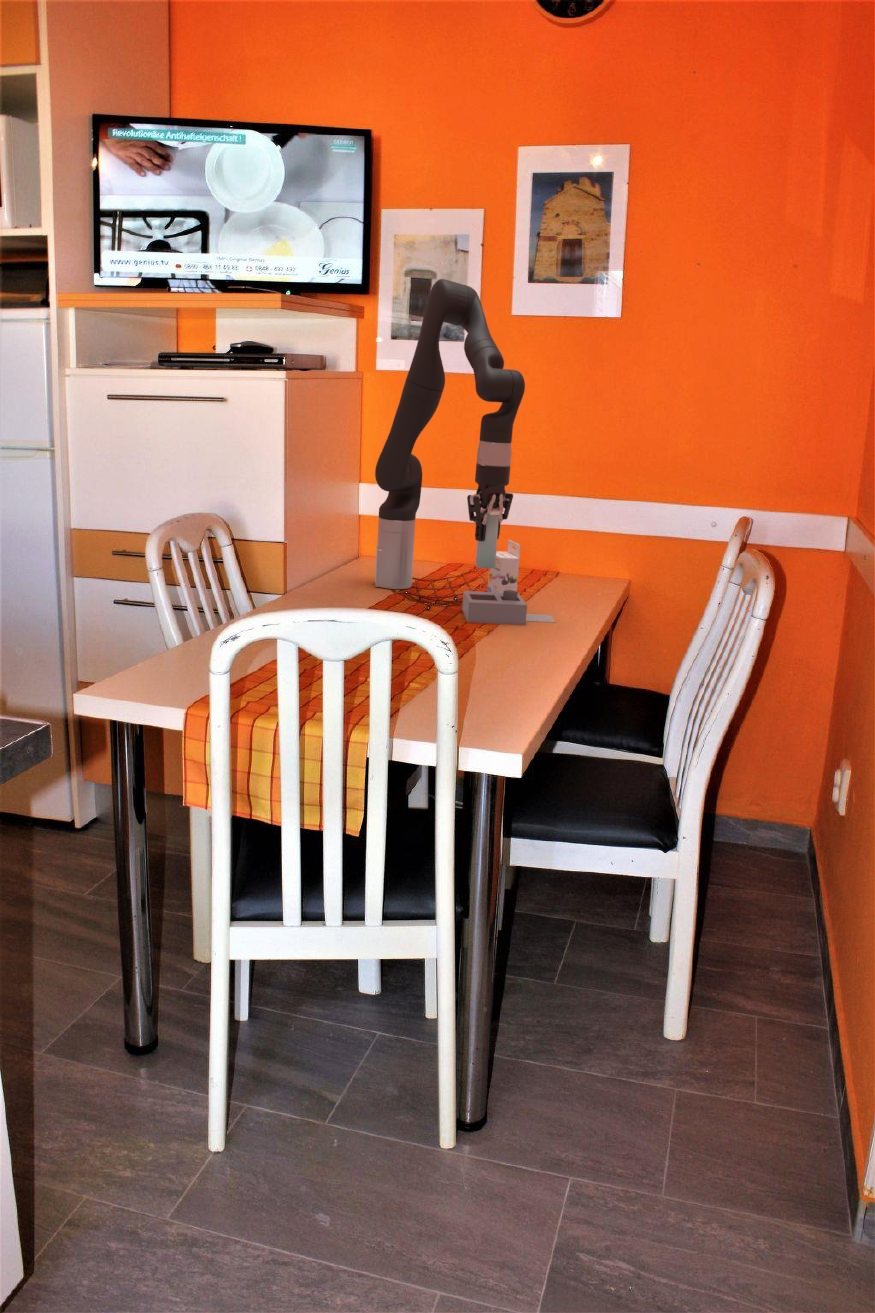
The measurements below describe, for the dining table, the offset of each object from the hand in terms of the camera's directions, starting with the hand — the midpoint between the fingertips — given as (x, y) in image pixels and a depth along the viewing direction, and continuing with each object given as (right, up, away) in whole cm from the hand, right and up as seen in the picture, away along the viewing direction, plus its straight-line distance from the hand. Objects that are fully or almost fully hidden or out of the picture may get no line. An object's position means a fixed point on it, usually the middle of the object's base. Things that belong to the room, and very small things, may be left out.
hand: (486, 539), depth 249 cm
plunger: (+5, -17, +5) cm, 18 cm away
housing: (+2, -18, +5) cm, 18 cm away
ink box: (+5, -13, +25) cm, 28 cm away
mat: (+12, -18, +7) cm, 23 cm away
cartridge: (0, -6, +2) cm, 6 cm away
